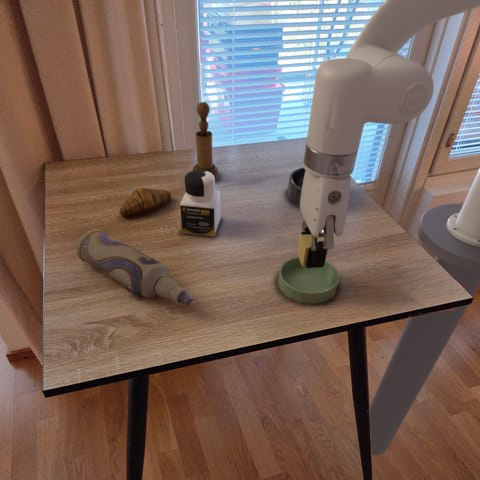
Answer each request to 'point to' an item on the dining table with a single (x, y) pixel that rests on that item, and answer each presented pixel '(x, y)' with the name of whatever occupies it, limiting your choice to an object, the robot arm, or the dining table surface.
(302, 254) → the yellow cube
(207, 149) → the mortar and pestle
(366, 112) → the robot arm
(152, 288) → the decorative bottle
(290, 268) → the dish
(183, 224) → the medicine bottle
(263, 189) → the dining table surface
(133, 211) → the croissant
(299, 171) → the bowl
